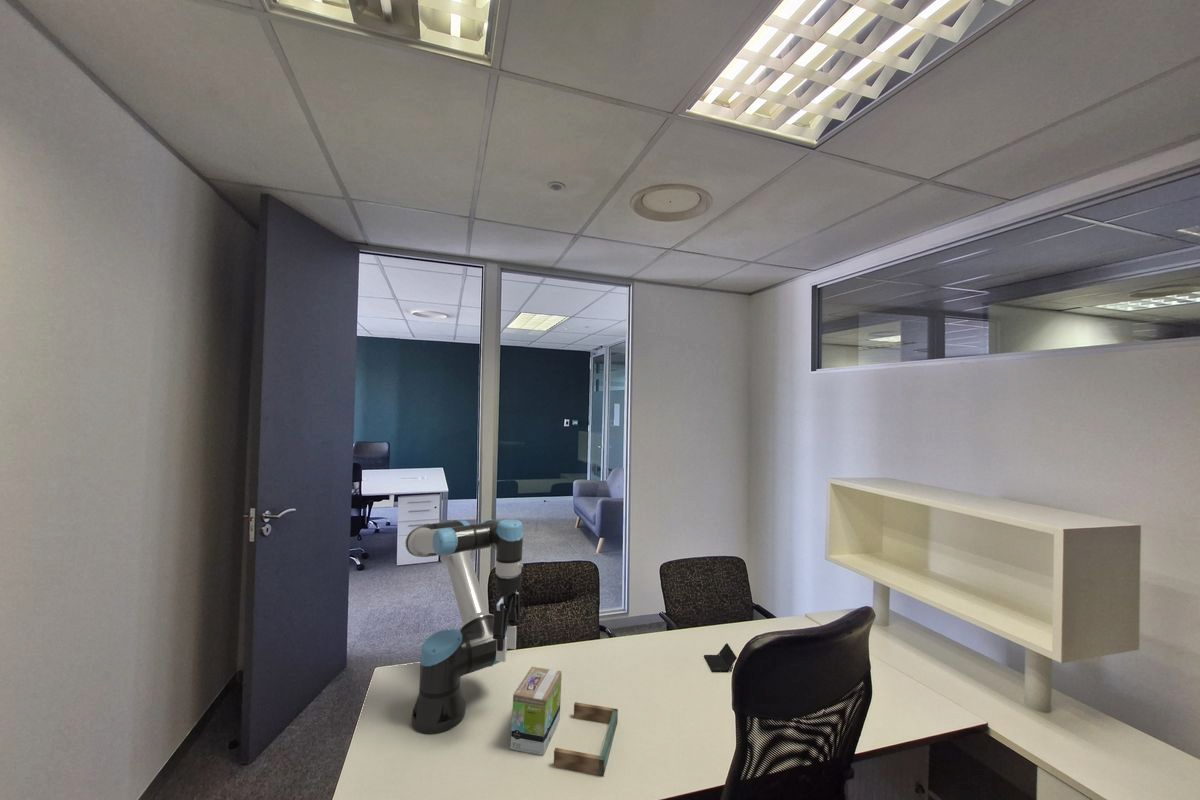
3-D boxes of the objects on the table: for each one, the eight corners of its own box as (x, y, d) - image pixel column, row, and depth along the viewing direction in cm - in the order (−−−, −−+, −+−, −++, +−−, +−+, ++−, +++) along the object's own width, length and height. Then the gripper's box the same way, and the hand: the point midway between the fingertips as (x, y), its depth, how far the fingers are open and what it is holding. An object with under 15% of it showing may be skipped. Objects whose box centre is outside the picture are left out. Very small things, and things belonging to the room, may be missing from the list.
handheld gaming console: (698, 653, 170) (715, 632, 170) (711, 662, 171) (728, 642, 172) (711, 674, 159) (729, 652, 159) (725, 684, 160) (742, 662, 161)
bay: (553, 767, 114) (554, 750, 115) (574, 715, 135) (575, 702, 135) (603, 776, 112) (603, 760, 112) (617, 722, 132) (617, 709, 132)
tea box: (544, 756, 118) (546, 699, 119) (509, 750, 120) (511, 694, 121) (560, 720, 133) (562, 669, 133) (529, 714, 135) (530, 664, 135)
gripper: (506, 587, 120) (504, 674, 119) (532, 565, 139) (530, 640, 138) (481, 584, 122) (478, 670, 121) (510, 563, 141) (507, 637, 140)
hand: (506, 654), depth 129 cm, fingers open, 6 cm apart
